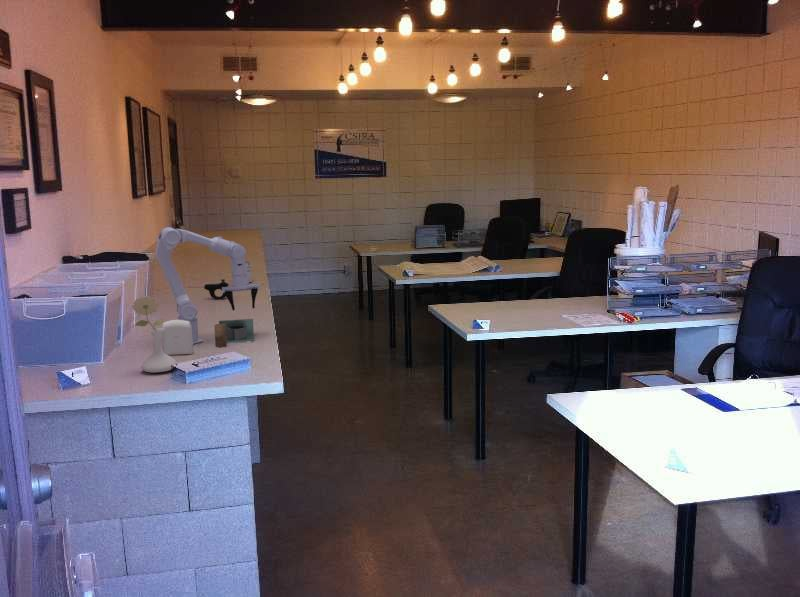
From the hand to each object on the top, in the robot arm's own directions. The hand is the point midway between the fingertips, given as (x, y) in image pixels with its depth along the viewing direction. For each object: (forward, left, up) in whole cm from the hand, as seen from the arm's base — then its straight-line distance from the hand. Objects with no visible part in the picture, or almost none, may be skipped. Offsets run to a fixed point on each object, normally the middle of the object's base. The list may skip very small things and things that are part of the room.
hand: (243, 308), depth 285 cm
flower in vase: (-51, -9, -11) cm, 53 cm away
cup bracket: (-6, -2, -11) cm, 13 cm away
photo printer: (-32, +2, -11) cm, 34 cm away
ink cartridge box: (+100, +96, -11) cm, 139 cm away
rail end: (-16, -3, -11) cm, 20 cm away
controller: (+55, +71, -11) cm, 90 cm away
